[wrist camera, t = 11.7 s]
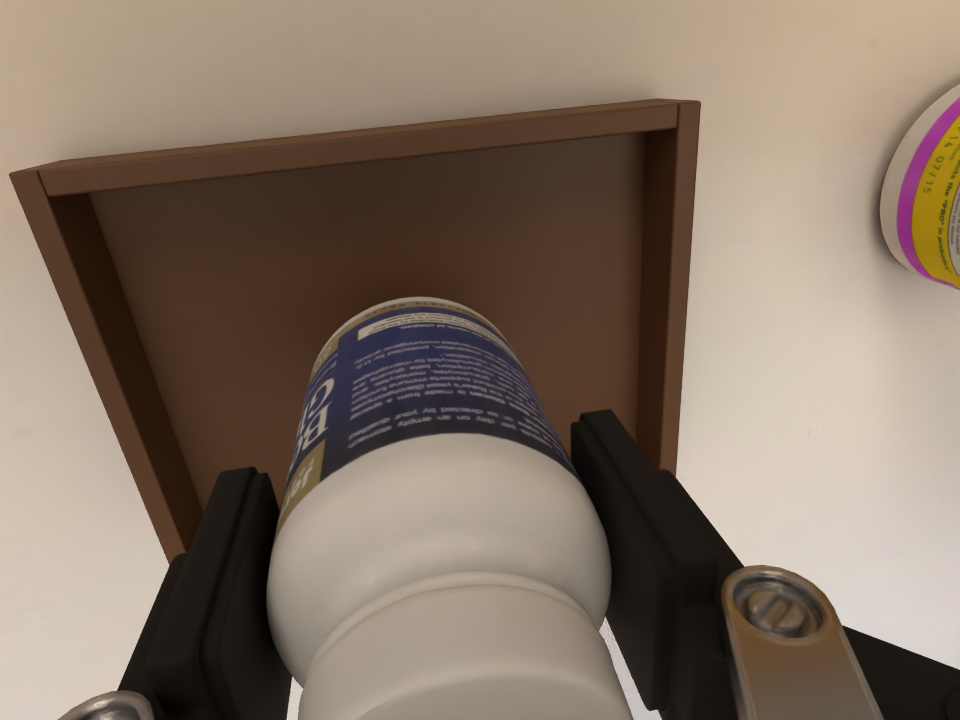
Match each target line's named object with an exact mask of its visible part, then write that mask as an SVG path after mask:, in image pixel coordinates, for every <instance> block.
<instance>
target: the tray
mask: <svg viewBox="0 0 960 720" xmlns="http://www.w3.org/2000/svg"><path fill="white" fill-rule="evenodd" d="M700 108H701V103H700V101H694V100H674V99H650V100H640V101H631V102H621V103H611V104H602V105H592V106H582V107H573V108H563V109H553V110H544V111H534V112H524V113H515V114H505V115H495V116H486V117H476V118H466V119H457V120H447V121H437V122H427V123H418V124H408V125H398V126H389V127H379V128H369V129H360V130H350V131H340V132H331V133H321V134H311V135H302V136H292V137H282V138H273V139H263V140H253V141H244V142H234V143H224V144H215V145H205V146H195V147H186V148H176V149H166V150H157V151H147V152H137V153H128V154H118V155H108V156H99V157H89V158H79V159H70V160H61V161H57V162H53V163H48V164H44V165H40V166H36V167H32V168H28V169H24V170H20V171H16V172H11V173H10V174H9V176H10V179H11V181H12V184H13V186H14V188H15V191H16V193H17V196H18V198H19V201H20V203H21V205H22V208H23V210H24V213H25V215H26V218H27V220H28V223H29V225H30V227H31V230H32V232H33V235H34V237H35V240H36V242H37V244H38V247H39V249H40V252H41V254H42V257H43V259H44V261H45V264H46V266H47V269H48V271H49V274H50V276H51V278H52V281H53V283H54V286H55V288H56V291H57V293H58V295H59V298H60V300H61V303H62V305H63V308H64V310H65V312H66V315H67V317H68V320H69V322H70V325H71V327H72V329H73V332H74V334H75V337H76V339H77V342H78V344H79V346H80V349H81V351H82V354H83V356H84V359H85V361H86V363H87V366H88V368H89V371H90V373H91V376H92V378H93V380H94V383H95V385H96V388H97V390H98V393H99V395H100V397H101V400H102V402H103V405H104V407H105V410H106V412H107V414H108V417H109V419H110V422H111V424H112V427H113V429H114V432H115V434H116V436H117V439H118V441H119V444H120V446H121V449H122V451H123V453H124V456H125V458H126V461H127V463H128V466H129V468H130V470H131V473H132V475H133V478H134V480H135V483H136V485H137V487H138V490H139V492H140V495H141V497H142V500H143V502H144V504H145V507H146V509H147V512H148V514H149V517H150V519H151V521H152V524H153V526H154V529H155V531H156V534H157V536H158V538H159V541H160V543H161V546H162V548H163V551H164V553H165V555H166V558H167V560H168V563H169V565H170V564H171V562H172V561H173V559H174V557H176V556H177V555H178V554H181V553H187V552H188V551H189V549H190V546H191V544H192V541H193V539H194V536H195V534H196V531H197V528H198V526H199V523H200V521H201V518H202V516H203V513H204V511H205V508H206V506H207V503H208V500H209V498H210V495H211V493H212V490H213V488H214V485H215V483H216V480H217V478H218V475H219V474H220V472H222V471H227V470H233V469H239V468H246V467H252V466H254V467H255V468H256V469H257V471H258V473H265V472H267V473H268V474H269V476H270V479H271V482H272V486H273V489H274V493H275V496H276V500H277V503H278V507H279V510H281V506H282V501H283V497H284V492H285V487H286V482H287V477H288V473H289V468H290V464H291V460H292V455H293V449H294V444H295V440H296V436H297V431H298V427H299V422H300V418H301V413H302V408H303V404H304V399H305V395H306V391H307V387H308V383H309V379H310V376H311V372H312V370H313V367H314V364H315V362H316V360H317V358H318V356H319V354H320V352H321V351H322V349H323V347H324V346H325V344H326V343H327V342H328V340H329V339H330V338H331V336H332V335H333V334H334V333H335V332H336V331H337V330H338V329H339V328H340V327H341V326H343V325H344V324H345V323H346V322H347V321H349V320H350V319H351V318H353V317H354V316H356V315H358V314H359V313H361V312H363V311H365V310H367V309H369V308H371V307H373V306H376V305H378V304H381V303H384V302H387V301H391V300H396V299H400V298H408V297H432V298H440V299H444V300H449V301H452V302H456V303H459V304H461V305H463V306H466V307H468V308H470V309H472V310H473V311H475V312H477V313H479V314H480V315H482V316H483V317H484V318H486V319H487V320H488V321H489V322H491V323H492V324H493V325H494V326H495V327H496V328H497V329H498V330H499V331H500V332H501V334H502V335H503V336H504V338H505V339H506V340H507V342H508V343H509V344H510V346H511V347H512V349H513V350H514V352H515V354H516V356H517V357H518V359H519V361H520V363H521V365H522V367H523V369H524V371H525V373H526V375H527V377H528V378H529V380H530V382H531V384H532V386H533V388H534V390H535V392H536V394H537V396H538V398H539V400H540V402H541V404H542V406H543V408H544V410H545V412H546V414H547V416H548V418H549V420H550V422H551V424H552V426H553V428H554V430H555V432H556V434H557V436H558V437H559V439H560V441H561V443H562V445H563V447H564V449H565V451H566V452H567V454H568V456H569V458H570V460H571V433H570V428H571V423H572V422H577V421H579V417H580V414H581V413H585V412H592V411H598V410H604V409H611V410H612V411H613V412H614V414H615V415H616V416H617V418H618V419H619V420H620V422H621V423H622V424H623V426H624V427H625V429H626V430H627V431H628V433H629V434H630V435H631V437H632V438H633V439H634V441H635V442H636V444H637V445H638V446H639V448H640V449H641V450H642V452H643V453H644V454H645V456H646V457H647V459H648V460H649V461H650V463H651V464H652V465H653V467H654V468H655V469H656V470H661V469H666V470H669V471H670V472H671V473H672V474H673V475H674V476H675V477H676V464H677V449H678V434H679V419H680V404H681V390H682V375H683V360H684V345H685V330H686V316H687V301H688V286H689V271H690V256H691V241H692V227H693V212H694V197H695V182H696V167H697V152H698V138H699V123H700Z"/></svg>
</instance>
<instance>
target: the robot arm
mask: <svg viewBox="0 0 960 720" xmlns="http://www.w3.org/2000/svg"><path fill="white" fill-rule="evenodd" d="M570 433H571V462H572V464H573V466H574V467H575V469H576V471H577V473H578V475H579V477H580V479H581V481H582V483H583V484H584V486H585V488H586V490H587V492H588V494H589V496H590V499H591V501H592V503H593V505H594V508H595V510H596V512H597V514H598V517H599V519H600V521H601V524H602V526H603V529H604V531H605V534H606V537H607V541H608V547H609V552H610V557H611V567H612V584H611V593H610V599H609V604H608V608H607V611H606V615H605V616H606V618H607V621H608V623H609V625H610V628H611V630H612V632H613V634H614V637H615V639H616V641H617V644H618V646H619V648H620V651H621V653H622V655H623V657H624V660H625V662H626V664H627V667H628V669H629V671H630V673H631V676H632V678H633V680H634V683H635V685H636V687H637V689H638V692H639V694H640V696H641V699H642V701H643V703H644V705H645V707H646V708H647V710H649V711H652V710H657V709H658V711H659V714H660V716H661V718H662V720H960V670H958V669H956V668H953V667H951V666H948V665H945V664H943V663H940V662H937V661H935V660H932V659H930V658H927V657H924V656H922V655H919V654H916V653H914V652H911V651H909V650H906V649H903V648H901V647H898V646H895V645H893V644H890V643H887V642H885V641H882V640H880V639H877V638H874V637H872V636H869V635H866V634H864V633H861V632H859V631H856V630H853V629H851V628H848V627H845V626H843V625H841V623H840V620H839V618H838V616H837V614H836V612H835V609H834V607H833V606H832V604H831V603H830V601H829V600H828V598H827V596H826V595H825V594H824V593H823V592H822V591H821V590H820V589H819V588H818V587H816V586H815V585H814V584H813V583H812V582H810V581H808V580H807V579H805V578H803V577H802V576H800V575H798V574H796V573H793V572H791V571H788V570H785V569H782V568H779V567H772V566H766V565H756V566H747V567H744V566H743V564H742V563H741V562H740V560H739V559H738V558H737V557H736V555H735V554H734V553H733V551H732V550H731V549H730V547H729V546H728V545H727V544H726V542H725V541H724V540H723V538H722V537H721V536H720V534H719V533H718V532H717V531H716V529H715V528H714V527H713V525H712V524H711V523H710V521H709V520H708V519H707V518H706V516H705V515H704V514H703V512H702V511H701V510H700V509H699V507H698V506H697V505H696V503H695V502H694V501H693V499H692V498H691V497H690V496H689V494H688V493H687V492H686V490H685V489H684V488H683V486H682V485H681V484H680V483H679V481H678V480H677V479H676V477H675V476H674V475H673V474H672V473H671V472H670V471H669V470H666V469H661V470H656V469H655V468H654V467H653V465H652V464H651V463H650V461H649V460H648V459H647V457H646V456H645V454H644V453H643V452H642V450H641V449H640V448H639V446H638V445H637V444H636V442H635V441H634V439H633V438H632V437H631V435H630V434H629V433H628V431H627V430H626V429H625V427H624V426H623V424H622V423H621V422H620V420H619V419H618V418H617V416H616V415H615V414H614V412H613V411H612V410H611V409H604V410H598V411H592V412H585V413H581V414H580V417H579V421H577V422H572V423H571V428H570ZM279 515H280V510H279V507H278V503H277V500H276V496H275V493H274V489H273V486H272V482H271V479H270V476H269V474H268V473H267V472H265V473H258V471H257V469H256V468H255V467H254V466H252V467H246V468H239V469H233V470H227V471H222V472H220V474H219V475H218V478H217V480H216V483H215V485H214V488H213V490H212V493H211V495H210V498H209V500H208V503H207V506H206V508H205V511H204V513H203V516H202V518H201V521H200V523H199V526H198V528H197V531H196V534H195V536H194V539H193V541H192V544H191V546H190V549H189V551H188V552H187V553H181V554H178V555H177V556H176V557H174V559H173V561H172V562H171V564H170V566H169V569H168V571H167V573H166V576H165V578H164V581H163V583H162V585H161V588H160V590H159V592H158V595H157V597H156V600H155V602H154V604H153V607H152V609H151V611H150V614H149V616H148V619H147V621H146V623H145V626H144V628H143V630H142V633H141V635H140V638H139V640H138V642H137V645H136V647H135V649H134V652H133V654H132V657H131V659H130V661H129V664H128V666H127V669H126V671H125V673H124V676H123V678H122V680H121V683H120V685H119V688H118V690H117V691H111V692H108V693H105V694H102V695H99V696H96V697H93V698H91V699H89V700H87V701H85V702H83V703H82V704H80V705H78V706H76V707H74V708H73V709H71V710H70V711H69V712H67V713H66V714H65V715H63V716H62V717H61V718H60V719H58V720H286V718H287V711H288V703H289V696H290V688H291V681H292V675H291V674H290V672H289V671H288V669H287V667H286V666H285V664H284V662H283V661H282V659H281V657H280V655H279V653H278V651H277V649H276V647H275V644H274V642H273V639H272V635H271V632H270V629H269V623H268V617H267V608H266V589H267V581H268V573H269V564H270V556H271V551H272V547H273V542H274V538H275V534H276V529H277V524H278V519H279Z"/></svg>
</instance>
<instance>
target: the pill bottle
mask: <svg viewBox="0 0 960 720" xmlns="http://www.w3.org/2000/svg"><path fill="white" fill-rule="evenodd" d="M611 584H612V567H611V557H610V552H609V547H608V541H607V537H606V534H605V531H604V529H603V526H602V524H601V521H600V519H599V517H598V514H597V512H596V510H595V508H594V505H593V503H592V501H591V499H590V496H589V494H588V492H587V490H586V488H585V486H584V484H583V483H582V481H581V479H580V477H579V475H578V473H577V471H576V469H575V467H574V466H573V464H572V462H571V460H570V458H569V456H568V454H567V452H566V451H565V449H564V447H563V445H562V443H561V441H560V439H559V437H558V436H557V434H556V432H555V430H554V428H553V426H552V424H551V422H550V420H549V418H548V416H547V414H546V412H545V410H544V408H543V406H542V404H541V402H540V400H539V398H538V396H537V394H536V392H535V390H534V388H533V386H532V384H531V382H530V380H529V378H528V377H527V375H526V373H525V371H524V369H523V367H522V365H521V363H520V361H519V359H518V357H517V356H516V354H515V352H514V350H513V349H512V347H511V346H510V344H509V343H508V342H507V340H506V339H505V338H504V336H503V335H502V334H501V332H500V331H499V330H498V329H497V328H496V327H495V326H494V325H493V324H492V323H491V322H489V321H488V320H487V319H486V318H484V317H483V316H482V315H480V314H479V313H477V312H475V311H473V310H472V309H470V308H468V307H466V306H463V305H461V304H459V303H456V302H452V301H449V300H444V299H440V298H432V297H408V298H400V299H396V300H391V301H387V302H384V303H381V304H378V305H376V306H373V307H371V308H369V309H367V310H365V311H363V312H361V313H359V314H358V315H356V316H354V317H353V318H351V319H350V320H349V321H347V322H346V323H345V324H344V325H343V326H341V327H340V328H339V329H338V330H337V331H336V332H335V333H334V334H333V335H332V336H331V338H330V339H329V340H328V342H327V343H326V344H325V346H324V347H323V349H322V351H321V352H320V354H319V356H318V358H317V360H316V362H315V364H314V367H313V370H312V372H311V376H310V379H309V383H308V387H307V391H306V395H305V399H304V404H303V408H302V413H301V418H300V422H299V427H298V431H297V436H296V440H295V444H294V449H293V455H292V460H291V464H290V468H289V473H288V477H287V482H286V487H285V492H284V497H283V501H282V506H281V510H280V515H279V519H278V524H277V529H276V534H275V538H274V542H273V547H272V551H271V556H270V564H269V573H268V581H267V589H266V608H267V617H268V623H269V629H270V632H271V635H272V639H273V642H274V644H275V647H276V649H277V651H278V653H279V655H280V657H281V659H282V661H283V662H284V664H285V666H286V667H287V669H288V671H289V672H290V674H291V675H292V676H293V677H294V679H295V680H296V681H297V682H298V683H299V684H300V686H301V687H302V688H303V692H302V695H301V698H300V704H299V712H298V720H634V719H633V716H632V714H631V711H630V708H629V706H628V703H627V700H626V698H625V695H624V692H623V690H622V687H621V684H620V682H619V679H618V676H617V674H616V671H615V669H614V665H613V662H612V659H611V655H610V652H609V650H608V647H607V645H606V643H605V641H604V639H603V637H602V636H601V634H600V633H599V630H600V628H601V625H602V623H603V621H604V618H605V615H606V611H607V608H608V604H609V599H610V593H611Z"/></svg>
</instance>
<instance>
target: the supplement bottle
mask: <svg viewBox="0 0 960 720" xmlns="http://www.w3.org/2000/svg"><path fill="white" fill-rule="evenodd" d="M880 220H881V227H882V232H883V236H884V238H885V241H886V244H887V246H888V247H889V249H890V251H891V253H892V254H893V256H894V257H895V258H896V259H897V260H898V261H899V262H900V263H901V264H902V265H903V266H904V267H906V268H907V269H908V270H910V271H912V272H913V273H916V274H918V275H920V276H922V277H925V278H927V279H930V280H933V281H936V282H938V283H941V284H944V285H947V286H950V287H953V288H956V289H959V290H960V84H959V85H957V86H955V87H954V88H952V89H951V90H949V91H948V92H946V93H945V94H944V95H942V96H941V97H940V98H939V99H937V100H936V101H935V102H934V103H933V104H932V105H931V106H930V107H929V108H928V109H926V110H925V111H924V113H923V114H922V115H921V116H920V117H919V118H918V119H917V120H916V122H915V123H914V124H913V125H912V127H911V128H910V129H909V131H908V132H907V133H906V135H905V136H904V138H903V140H902V141H901V143H900V145H899V146H898V148H897V150H896V152H895V154H894V156H893V158H892V160H891V163H890V165H889V168H888V170H887V173H886V176H885V180H884V183H883V187H882V192H881V201H880Z"/></svg>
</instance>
